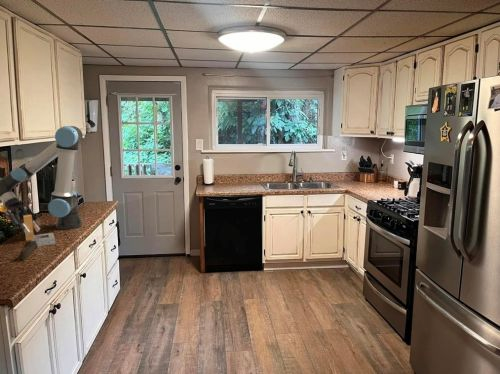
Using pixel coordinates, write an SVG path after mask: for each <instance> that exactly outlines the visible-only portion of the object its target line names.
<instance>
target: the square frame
mask: <svg viewBox="0 0 500 374" xmlns="http://www.w3.org/2000/svg"><path fill="white" fill-rule="evenodd" d="M30 241H31V242H36V243H37V247H43V246H49V245H55V244H56V236H55V235H54V232H49V233H48V232H47V233H42V234H41V233H40V234H34V235H33V236H31V240H30ZM31 242H30V243H31Z"/></svg>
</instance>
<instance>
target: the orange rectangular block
mask: <svg viewBox="0 0 500 374" xmlns="http://www.w3.org/2000/svg"><path fill="white" fill-rule="evenodd" d="M22 218H23V223H24V224H25V225H26V227H27V228H28V229H29V231H30V233H29V234H28V235H27V234H26V233H25V232H24V236H25V242H26V241H28V242H29V241H31V236H33V235H35V233H34V228H33V224H32V215H23V217H22Z"/></svg>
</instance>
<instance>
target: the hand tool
mask: <svg viewBox="0 0 500 374" xmlns="http://www.w3.org/2000/svg"><path fill="white" fill-rule="evenodd" d="M37 248H38V246H37V243H36V242H29V243H28V244H27V246H25V248H24V249H22V250H20V257H21V261H25V260H26V259H29V256H30V254H32V253H33V251H34V250H36V249H37Z"/></svg>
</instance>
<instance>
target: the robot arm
mask: <svg viewBox="0 0 500 374" xmlns="http://www.w3.org/2000/svg"><path fill="white" fill-rule="evenodd" d="M54 139H55V141H54V142H52V143H51V144H50V145H49V146H48V147H46V148H45V149H44V150H42V151H41V152H40V153H38V154H37V155H36V156H34V157H33V158H32V159H30V160H29V161H28V162H27V163H26V164H25V165H23V166H21V167H15V168H14V169H12V170H11V171H10V172H8V173H7V174H6V175H5V176H4V177H0V202H1V203H2V204H3V205H4V207H5V209H7V210H6V211H5V213H4V214H5V215H6V216H7V217H8V219H9V220H10V222H11V223H12V225H13V226H14V227H17V228H19V229H20V230H21V231H23V232H24V234H25V233H26V234H27V235H28V234H29V233H30V231H29V229H28V228H27V227H26V225H25V224H24V222H23V223H22V219H21V217H22V216H23V215H32V224H33V230H35V231H36V232H37V233H38V232H39V231H40V230H41V228H40V227H39V224H38V222H37V219H38V218H37V216H36V215H35V214H34V213H33V211H32V210H31V208H30V207H29V205H27V206H23V205H22V204H21V203H22V202H21V201H20V200H19V198H18V197H17V196H16V195H15V193H14V192H13V189H14V188H16V186H17V185H19V184H21V183H22V182H25V181H28V180H30V179H31V178H32V176H34V175H35V174H36V173H37V172H39V171H40V170H42V169H43V168H44V167H46V166H47V165H48V164H50V163H51V162H52V161H53V160H55V159H56V158H57V166H56V176H55V186H54V191H53V192H51V198H50V201H49V203H48V205H47V208H48V209H47V210H48V212H49V213H50V215H51V216H53V217H55V218H57V220H56V224H55V226H56V229H57V230H73V229H78V228H81V227H82V226H83V221H82V218H81V217H80V216H81V215H79V205H78V193H77V192H76V191H75V190H72V184H73V183H72V182H73V174H74V173H73V172H74V165H75V164H74V163H75V155H76V153H77V152H78V150H79V146H80V145H79V144H80V143H81V142H82V141H83V131H82V130H81V129H80V128H79V127H77V126H75V125H65V126H62V127H59V128H58V129H57V130H56V132H55V133H54ZM20 215H21V217H20Z"/></svg>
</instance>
